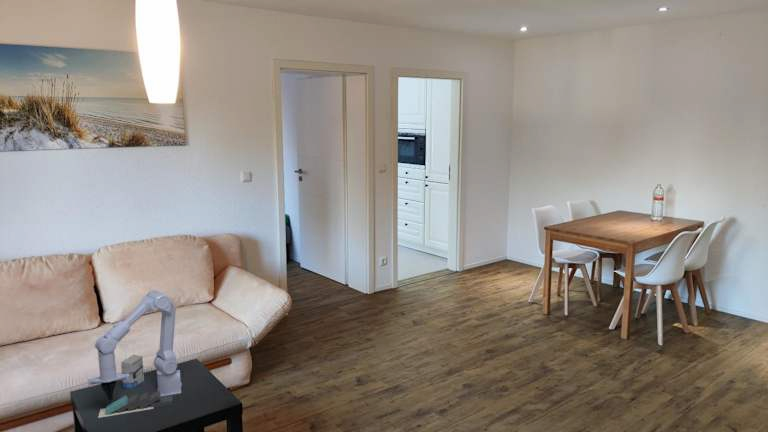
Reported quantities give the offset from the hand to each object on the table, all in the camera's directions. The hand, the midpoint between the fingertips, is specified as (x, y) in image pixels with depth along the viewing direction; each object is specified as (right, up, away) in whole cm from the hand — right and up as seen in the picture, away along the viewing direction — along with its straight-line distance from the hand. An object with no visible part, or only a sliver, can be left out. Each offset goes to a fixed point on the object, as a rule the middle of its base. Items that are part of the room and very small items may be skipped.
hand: (110, 399), depth 221 cm
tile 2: (+2, -4, +2) cm, 5 cm away
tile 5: (+14, -3, +6) cm, 15 cm away
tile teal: (-2, -5, 0) cm, 5 cm away
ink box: (-2, -2, +24) cm, 25 cm away
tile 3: (+6, -4, +3) cm, 8 cm away
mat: (+5, -5, +3) cm, 8 cm away
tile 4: (+10, -4, +4) cm, 11 cm away
